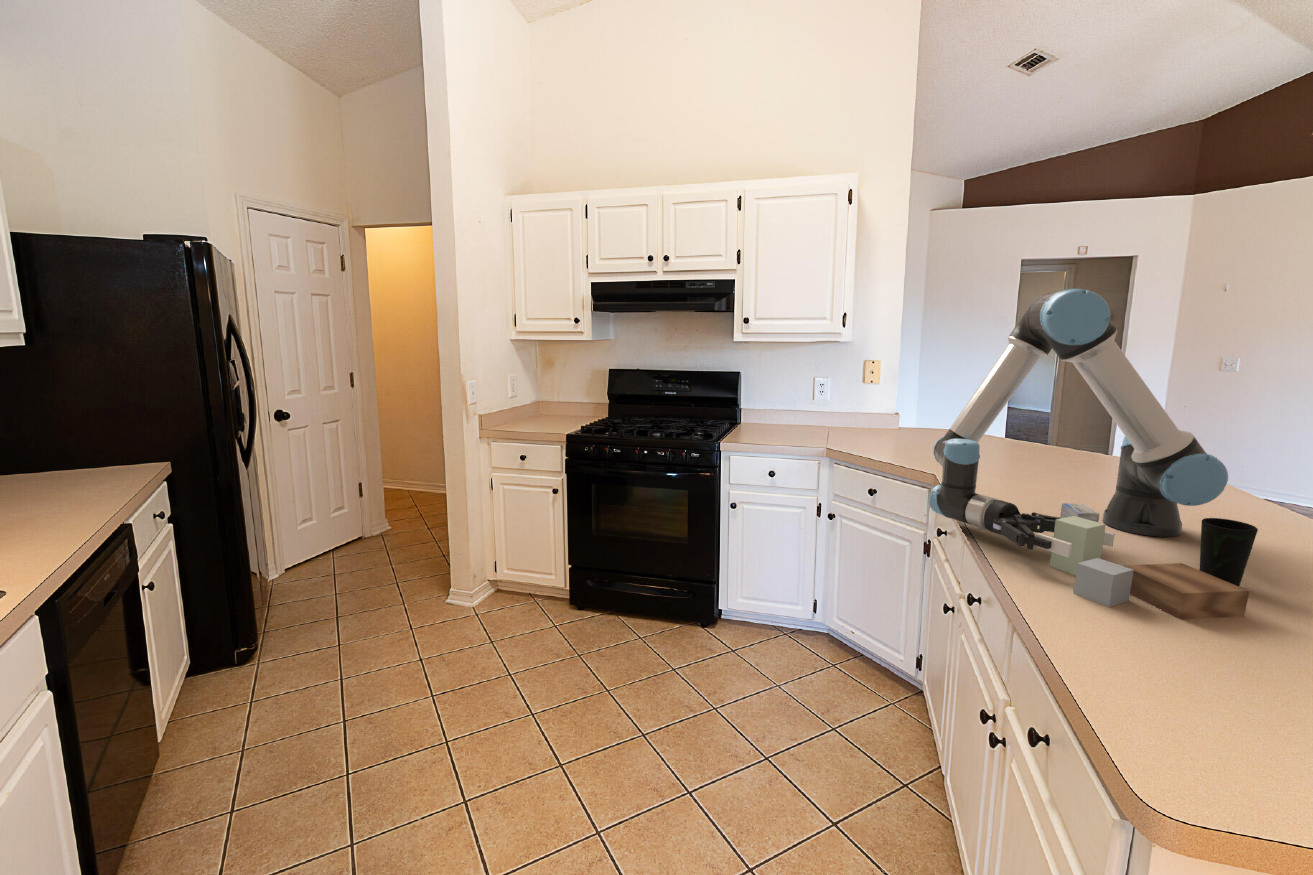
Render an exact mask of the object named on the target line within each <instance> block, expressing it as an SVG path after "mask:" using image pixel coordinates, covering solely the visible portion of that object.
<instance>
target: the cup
mask: <svg viewBox="0 0 1313 875" xmlns="http://www.w3.org/2000/svg"><path fill="white" fill-rule="evenodd" d="M1200 528H1201V530H1200V552H1199V570H1200V571H1202V572H1205V573H1207V574H1210V575H1212V576H1214V577H1217V578H1219V579H1222V580H1224V581H1227V582H1229V583H1231V584H1234V585H1236V586H1239V587H1241V586H1240V585H1241V582H1242V580H1243V579H1242V578H1243V576H1244V573H1245V570H1246V566H1247V564H1248V561H1249V559H1250V556H1251V551H1252V549H1253V545H1254V543H1255V540H1256V537H1257V534H1258V531H1259V529H1258V528H1257V526H1255V525H1252V524H1249V523H1247V522H1243V521H1239V520H1233V519H1228V518H1220V517H1219V518H1218V517H1217V518H1216V517H1205V518H1203V519H1201V526H1200Z"/></svg>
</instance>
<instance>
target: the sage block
mask: <svg viewBox="0 0 1313 875" xmlns="http://www.w3.org/2000/svg"><path fill="white" fill-rule="evenodd" d="M1106 525H1107V524H1105V523H1103V522H1095V521H1091V520H1088V519H1084V518H1080V517H1077V516H1071V517H1066V518H1061V519H1056V521H1055V529H1054V532H1053V536H1052V538H1056V539H1059V540H1062V541H1065V542H1068V543H1072V549H1071V557H1065V556H1062V555H1059V554H1056V553H1053V552H1050V553H1051V554H1050V555H1051V556H1050V560H1049V561H1050V562H1049V567H1050V568H1054V569H1057V570H1059V571H1062V572H1064V573H1068V574H1071V575H1074V576H1076V570H1077V563H1080V562H1084V561H1088V560H1092V559H1096V558H1099V559H1102V553H1103V548H1104V547H1103V546H1104V545H1103V540H1104V533H1105V531H1106Z"/></svg>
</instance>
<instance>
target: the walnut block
mask: <svg viewBox="0 0 1313 875" xmlns="http://www.w3.org/2000/svg"><path fill="white" fill-rule="evenodd" d="M1122 566H1124V567H1127V568H1130V569H1133V570H1134V571H1133V577H1132V584H1131V590H1130V596H1132V597H1134V598H1137V599H1138V600H1140V601H1142V602H1144V603H1147V604H1148V605H1150V606H1152V607H1154V606H1155V607H1154V608H1156V609H1158V610H1160V609H1161V610H1160V611H1162V612H1164V613H1166V614H1168V615H1170V616H1171V617H1174V618H1176V619H1178V620H1195V619H1197V620H1198V619H1216V618H1217V619H1219V618H1236V617H1237V618H1241V617H1245V614H1246V610H1247V604H1248V600H1249V595H1250V590H1248V589H1246V588H1243V587H1241V586H1236V585H1234V584H1231V583H1229V582H1227V581H1224V580H1222V579H1219V578H1217V577H1214V576H1212V575H1210V574H1207V573H1205V572H1202V571H1200V569H1198V568H1196V567H1193V566H1190V565H1188V564H1185V563H1183V562H1181V563H1180V562H1179V563H1177V562H1176V563H1154V564H1153V563H1151V564H1150V563H1149V564H1147V563H1146V564H1145V563H1144V564H1123V565H1122Z"/></svg>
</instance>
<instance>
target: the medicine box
mask: <svg viewBox="0 0 1313 875" xmlns="http://www.w3.org/2000/svg"><path fill="white" fill-rule="evenodd" d="M1071 516H1077V517H1080V518H1084V519H1088V520H1091V521H1095V522H1099V521H1100V514H1099V513H1098V512H1097V511H1095V510H1094V509H1092V508H1090V507H1088V506H1087V505H1085V504H1082V503H1075V502H1073V503H1072V502H1069V503H1067V502H1065V503H1061V506H1060V518H1066V517H1071ZM1099 523H1100V522H1099Z"/></svg>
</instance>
